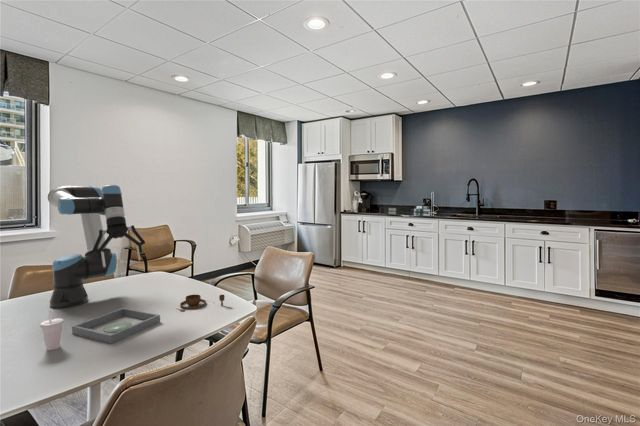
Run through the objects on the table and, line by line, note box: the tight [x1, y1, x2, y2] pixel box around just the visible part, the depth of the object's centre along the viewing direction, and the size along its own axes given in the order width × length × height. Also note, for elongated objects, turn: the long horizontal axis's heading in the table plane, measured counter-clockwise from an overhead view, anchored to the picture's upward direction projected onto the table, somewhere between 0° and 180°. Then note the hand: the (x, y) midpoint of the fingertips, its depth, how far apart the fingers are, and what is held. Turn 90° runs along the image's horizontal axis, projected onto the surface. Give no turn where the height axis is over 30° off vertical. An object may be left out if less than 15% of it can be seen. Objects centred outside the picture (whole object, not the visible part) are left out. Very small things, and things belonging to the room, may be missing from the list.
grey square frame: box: [71, 307, 161, 345], centre depth 135 cm, size 22×22×3 cm
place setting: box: [177, 294, 225, 312], centre depth 160 cm, size 18×20×6 cm
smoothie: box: [40, 309, 64, 351], centre depth 117 cm, size 6×6×14 cm
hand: (122, 263), depth 146 cm, fingers open, 13 cm apart
